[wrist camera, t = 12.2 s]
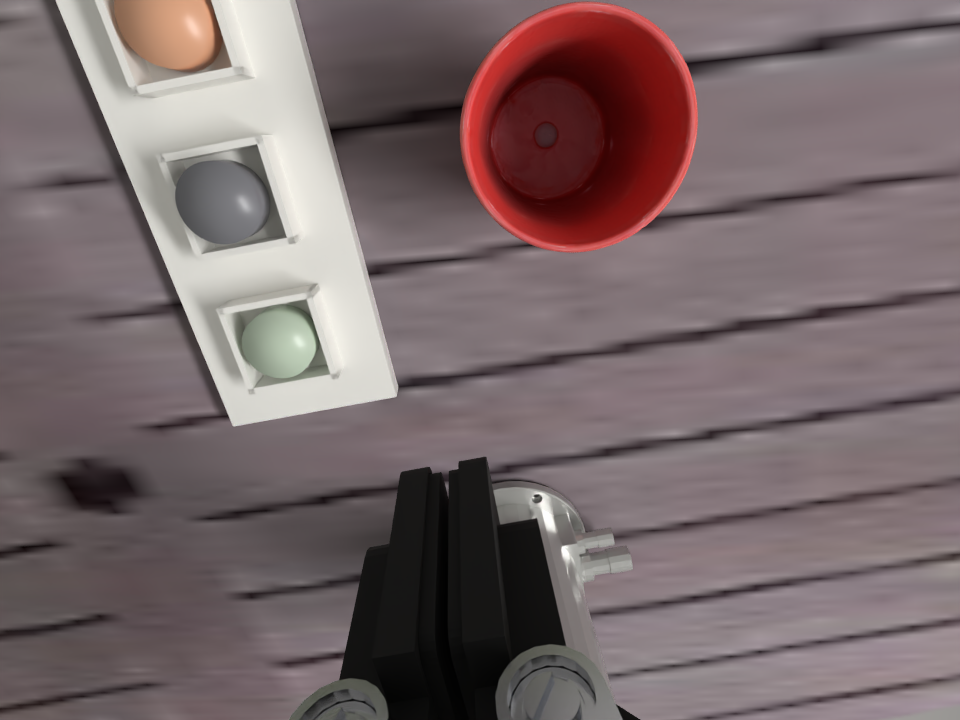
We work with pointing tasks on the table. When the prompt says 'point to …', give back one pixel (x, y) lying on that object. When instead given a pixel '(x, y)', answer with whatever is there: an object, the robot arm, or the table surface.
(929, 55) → the table surface
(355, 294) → the button board
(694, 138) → the flower pot
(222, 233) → the charcoal button
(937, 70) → the table surface
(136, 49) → the terracotta button
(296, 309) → the sage button
